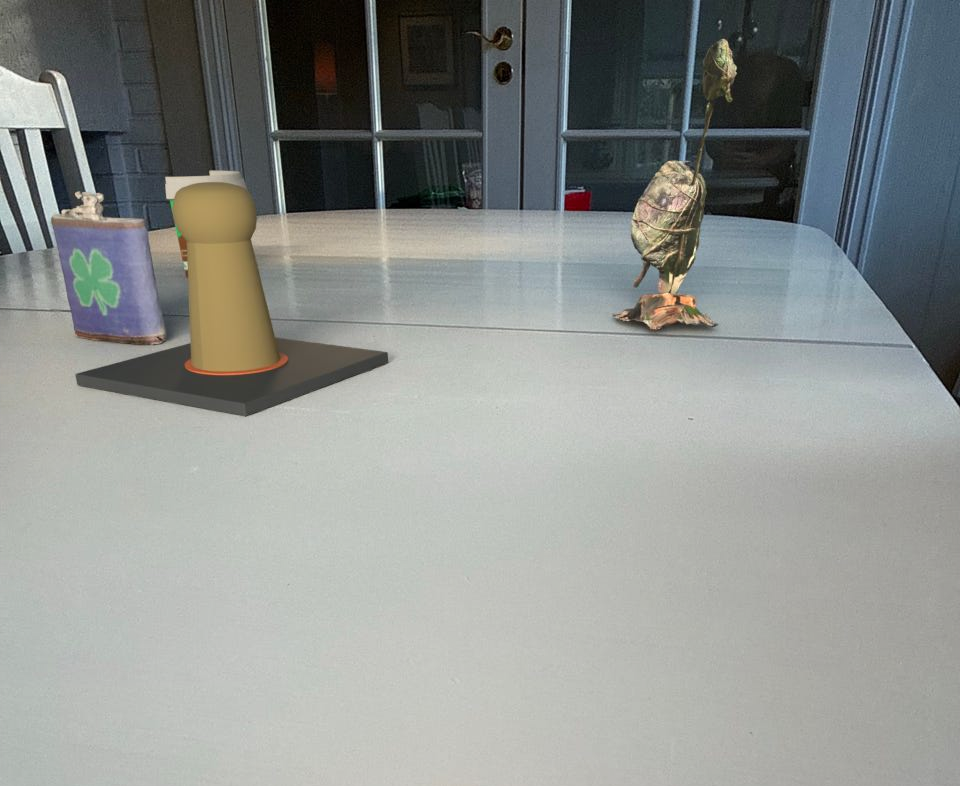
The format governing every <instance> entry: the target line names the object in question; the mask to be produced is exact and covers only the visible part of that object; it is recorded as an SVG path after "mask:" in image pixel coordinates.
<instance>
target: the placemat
mask: <svg viewBox="0 0 960 786" xmlns="http://www.w3.org/2000/svg"><path fill="white" fill-rule="evenodd" d="M275 339H276V343H277V347H278V351H279V355H280V360H279V361H278V362H277V363H275V364H273V365H270V366H267V367H263V368H258V369H252V370H245V371H230V372H223V371H207V370H201V369H198V368H195V367H193V366H192V365H191V342H189V343H185V344H181V345H178V346H174V347H170V348H167V349H163V350H159V351H156V352H152V353H148V354H145V355H141V356H137V357H134V358H130V359H126V360H122V361H118V362H115V363H111V364H107V365H104V366H100V367H96V368H92V369H88V370H85V371H81V372H77V373H75V375H74V376H75V380H76V384H77V386H78V387H79V386H80V387H84V388H91V389H96V390H101V391H106V392H112V393H118V394H122V395H128V396H132V397H133V396H134V397H137V398H138V397H139V398H144V399H150V400H154V401H155V400H156V401H160V402H167V403H171V404H177V405H181V406H188V407H194V408H197V409H198V408H199V409H205V410H210V411H214V412H215V411H216V412H221V413H226V414H232V415H237V416H243V417H247V416H251V415H253V414H256V413H259V412H261V411H263V410H267V409H269V408H272V407H274V406H277V405H280V404H282V403H285V402H287V401H291V400H293V399H296V398H299V397H301V396H304V395H307V394H308V393H312V392H314V391H317V390H320V389H323V388H325V387H327V386H331V385H333V384H336V383H338V382H341V381H343V380H347V379H349V378H352V377H354V376H357V375H360V374H362V373H366V372H368V371H370V370H373V369H376V368H378V367H381V366H384V365H386V364H387V365H388V364H389V353H388V351H382V350H374V349H367V348H359V347H351V346H343V345H336V344H328V343H320V342H315V341H313V342H312V341H305V340H298V339H290V338H283V337H276V336H275Z"/></svg>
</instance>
